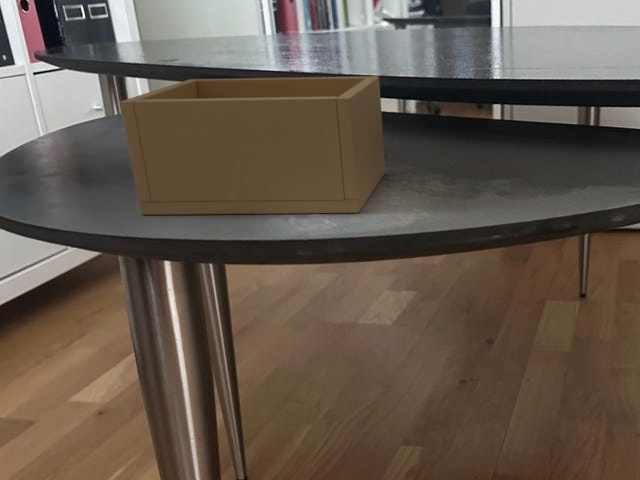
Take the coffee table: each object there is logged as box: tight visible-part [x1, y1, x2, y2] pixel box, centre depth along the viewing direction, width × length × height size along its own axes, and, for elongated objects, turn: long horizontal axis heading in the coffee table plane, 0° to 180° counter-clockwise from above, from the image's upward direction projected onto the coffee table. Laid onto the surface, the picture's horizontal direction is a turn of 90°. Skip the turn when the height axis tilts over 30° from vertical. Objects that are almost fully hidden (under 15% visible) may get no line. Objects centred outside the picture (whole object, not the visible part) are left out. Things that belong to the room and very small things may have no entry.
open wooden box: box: [119, 75, 386, 216], centre depth 56 cm, size 14×12×7 cm
